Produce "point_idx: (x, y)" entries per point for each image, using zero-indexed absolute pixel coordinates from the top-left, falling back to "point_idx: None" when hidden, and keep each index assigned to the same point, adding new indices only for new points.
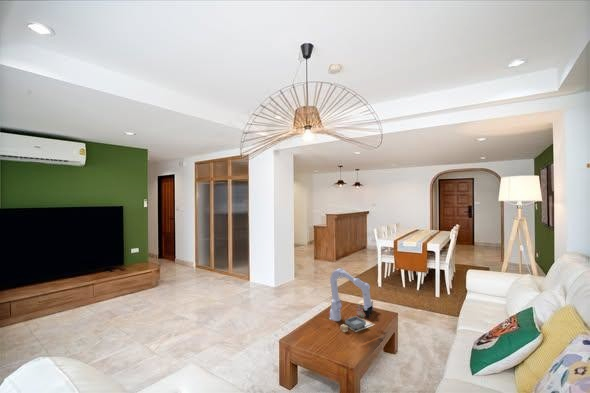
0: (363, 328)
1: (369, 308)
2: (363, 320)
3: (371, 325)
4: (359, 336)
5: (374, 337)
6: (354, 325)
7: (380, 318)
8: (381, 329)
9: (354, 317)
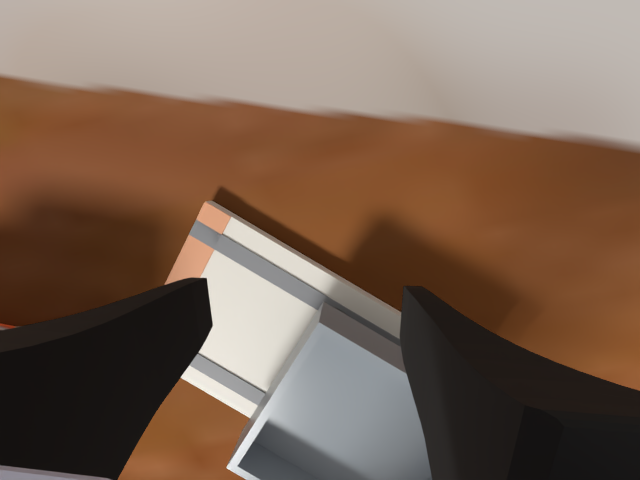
0: (366, 307)
1: (101, 408)
2: (308, 354)
3: (252, 239)
4: (538, 309)
5: (500, 150)
6: None
7: (15, 184)
8: (267, 116)
9: (262, 472)
